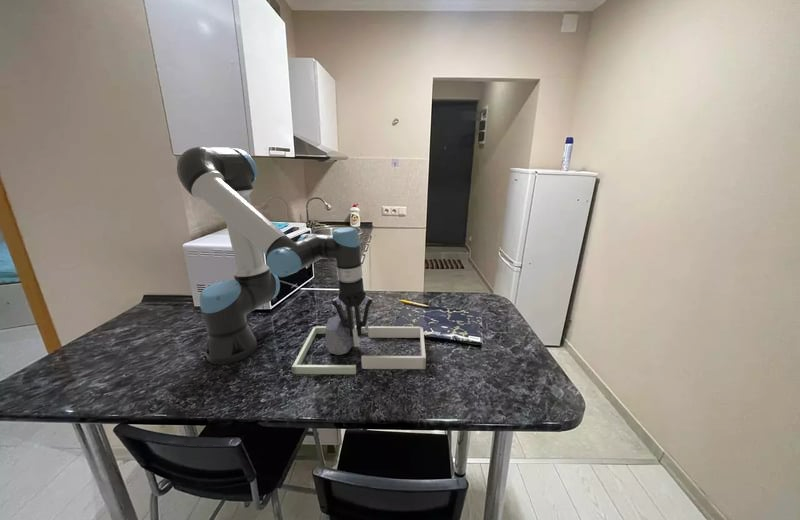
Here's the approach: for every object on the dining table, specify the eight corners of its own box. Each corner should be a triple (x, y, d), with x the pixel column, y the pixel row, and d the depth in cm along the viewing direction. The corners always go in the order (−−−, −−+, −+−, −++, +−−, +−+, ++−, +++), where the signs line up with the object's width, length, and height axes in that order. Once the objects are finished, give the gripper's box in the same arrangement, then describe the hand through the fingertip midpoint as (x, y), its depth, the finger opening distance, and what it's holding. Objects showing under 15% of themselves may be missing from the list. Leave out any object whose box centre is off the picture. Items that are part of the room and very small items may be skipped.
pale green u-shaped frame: (292, 373, 91) (291, 366, 91) (314, 332, 113) (313, 326, 112) (355, 374, 91) (355, 367, 90) (365, 332, 113) (365, 326, 112)
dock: (361, 368, 93) (361, 357, 92) (368, 336, 110) (368, 326, 109) (425, 369, 93) (425, 358, 92) (422, 336, 110) (422, 326, 109)
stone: (341, 342, 109) (363, 332, 105) (333, 364, 101) (357, 354, 97) (319, 320, 105) (341, 309, 101) (309, 341, 96) (332, 330, 93)
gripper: (326, 283, 90) (335, 351, 97) (369, 282, 90) (375, 350, 97) (332, 274, 97) (340, 338, 105) (372, 273, 97) (377, 337, 104)
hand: (357, 344), depth 101 cm, fingers closed
